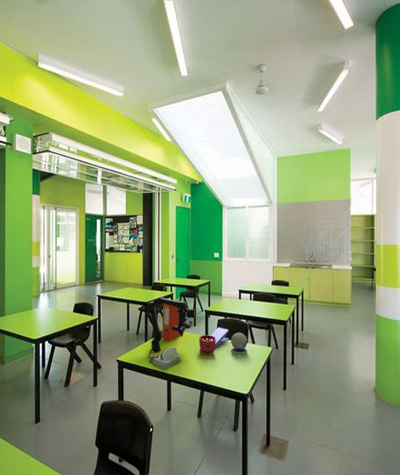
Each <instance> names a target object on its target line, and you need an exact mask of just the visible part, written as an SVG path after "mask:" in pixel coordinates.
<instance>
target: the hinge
mask: <svg viewBox="0 0 400 475" xmlns="http://www.w3.org/2000/svg"><path fill="white" fill-rule="evenodd" d="M177 356H180V355H179V353H178V350H177V348H176V347H168V348H165V349H164V350H162V352H160V354H159V357H160V360H163V361H166V362H168V361H170V360H171V359H173V358H175V357H177Z"/></svg>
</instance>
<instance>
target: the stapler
mask: <svg viewBox="0 0 400 475" xmlns="http://www.w3.org/2000/svg"><path fill="white" fill-rule="evenodd" d="M228 333H229V329H227V328H223V327H217V328H216V329H214V331H213V332H212V333H211V334H210V336H213V337H215V338H216V343H215V347H214V350H215V349H217V348H219V347H220V346H222V345H223V344H225V342H227V341H229V338H228V337H226V336H228ZM207 340H208V338H207ZM209 340H210V339H209ZM211 341H213V340H212V339H211Z"/></svg>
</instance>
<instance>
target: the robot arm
mask: <svg viewBox="0 0 400 475" xmlns="http://www.w3.org/2000/svg"><path fill="white" fill-rule="evenodd" d="M160 304H167V305H172V306H175V307H177V308H178V310H177V311H176V312H179V318H177V320H178V324H177V325H178V326H176V325H175V326H172V330H174V331H178V332H179V334H180V336H179V337H181V338H182V337H183V335H184V333H185V330H186V329H187V330H188V329H190V328H191V327H192V326H193V320H187V319H188V318H189V319H190V318H193V319H194V318H195V317H196V316H195V315H196V310H195V308H189V306H187V302H186V301H184V300H176V301H174V299H169V298H165V297H162V296H159V297H158V298H156V299H155V300H151V301H149V302H148V303H147V305H146V308H147V311H148V313H149V315H150V318H151V322H152V327H153V338H152V340H151V342H150V346H151V347H150V348H151V349H150V350H149V351H150V352H153V353H154V354H157V353H158V352H160V351H161V350H162V349H161V343H160V342H161V341H162V340H163V339H162V336H163V334H162V330H160V326H159V323H158V322H159V321H158V316H157V313H156V307H157V305H160Z"/></svg>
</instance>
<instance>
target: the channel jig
mask: <svg viewBox="0 0 400 475" xmlns="http://www.w3.org/2000/svg"><path fill="white" fill-rule="evenodd" d="M180 361H181V356H180V355H179V356H177V357H175V358H173V359H171V360H170V361H168V362H166V361H163V360H160V356H158V358H155V359H154V362H153V365H154V366H156V367H160V368H163V369H165V370H166V369H169V368H170V367H172V366H173V365H175V364H176V363H178V362H180Z"/></svg>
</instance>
